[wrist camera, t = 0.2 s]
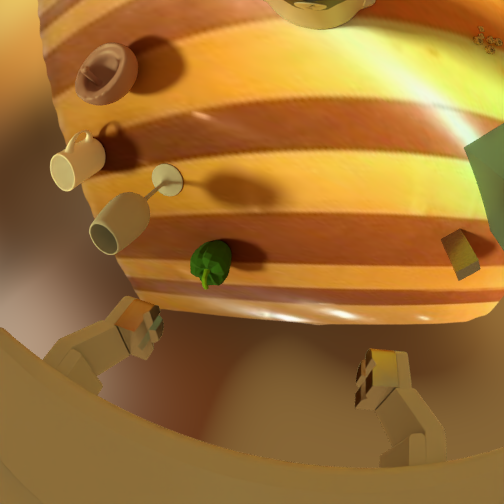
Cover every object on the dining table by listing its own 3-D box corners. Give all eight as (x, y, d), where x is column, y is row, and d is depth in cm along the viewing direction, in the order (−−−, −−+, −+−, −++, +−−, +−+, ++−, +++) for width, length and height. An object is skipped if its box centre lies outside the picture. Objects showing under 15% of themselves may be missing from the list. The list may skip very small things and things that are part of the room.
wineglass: (162, 155, 49) (91, 208, 33) (190, 179, 51) (129, 241, 35) (146, 180, 54) (81, 237, 38) (172, 203, 56) (115, 267, 40)
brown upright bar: (444, 247, 46) (458, 281, 38) (440, 239, 45) (456, 272, 37) (463, 237, 43) (480, 269, 35) (460, 228, 42) (478, 259, 35)
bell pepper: (203, 228, 58) (184, 257, 50) (239, 241, 58) (225, 272, 50) (199, 256, 63) (181, 286, 56) (232, 268, 63) (218, 300, 56)
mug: (111, 129, 48) (76, 146, 39) (105, 175, 55) (74, 197, 47) (85, 118, 47) (50, 134, 39) (80, 163, 55) (50, 182, 46)
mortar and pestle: (153, 39, 35) (112, 39, 26) (149, 98, 42) (109, 111, 34) (105, 45, 36) (63, 50, 27) (103, 98, 43) (63, 112, 35)
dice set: (498, 42, 18) (503, 42, 17) (489, 59, 22) (495, 60, 20) (478, 22, 18) (483, 21, 17) (469, 39, 21) (474, 39, 20)
